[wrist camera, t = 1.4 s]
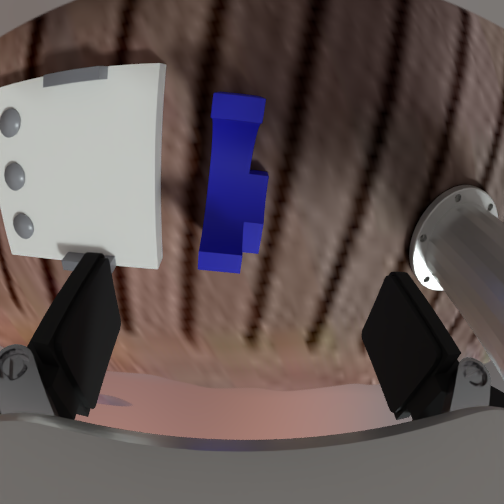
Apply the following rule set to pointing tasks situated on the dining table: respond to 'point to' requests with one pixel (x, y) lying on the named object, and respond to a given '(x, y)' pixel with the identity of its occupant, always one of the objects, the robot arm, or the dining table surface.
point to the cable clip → (233, 184)
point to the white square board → (84, 164)
